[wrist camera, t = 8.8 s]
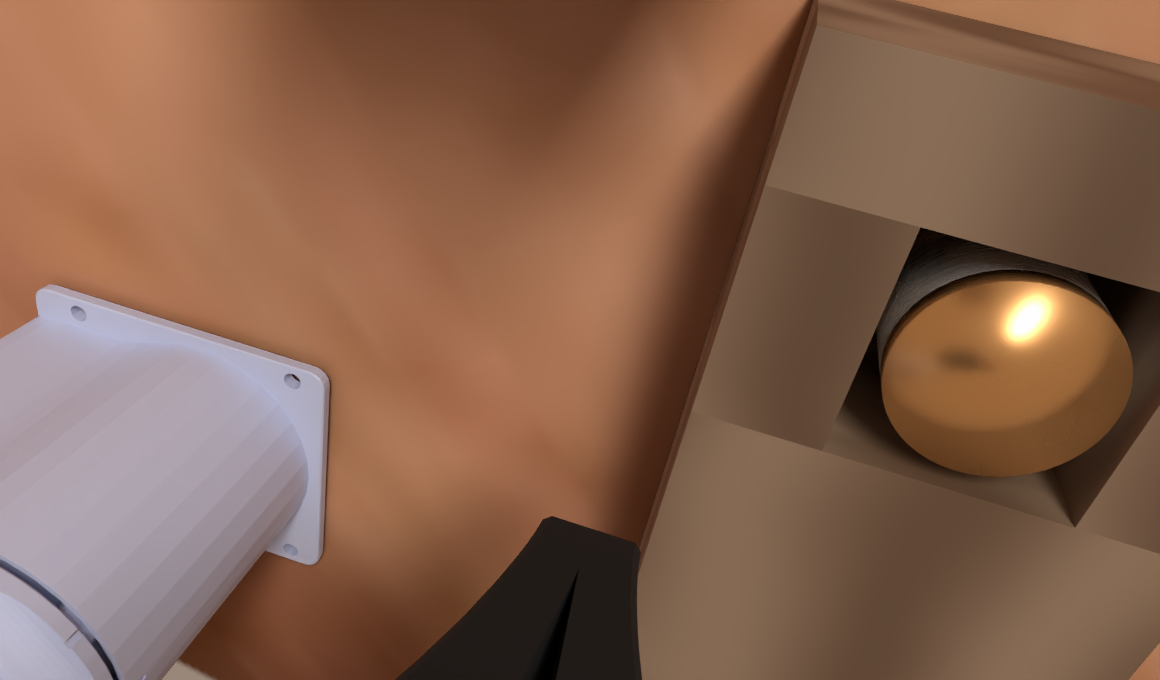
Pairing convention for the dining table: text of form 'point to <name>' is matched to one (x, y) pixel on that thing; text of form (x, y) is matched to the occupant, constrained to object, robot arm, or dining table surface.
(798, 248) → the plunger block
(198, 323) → the dining table surface
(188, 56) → the dining table surface
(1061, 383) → the peg
